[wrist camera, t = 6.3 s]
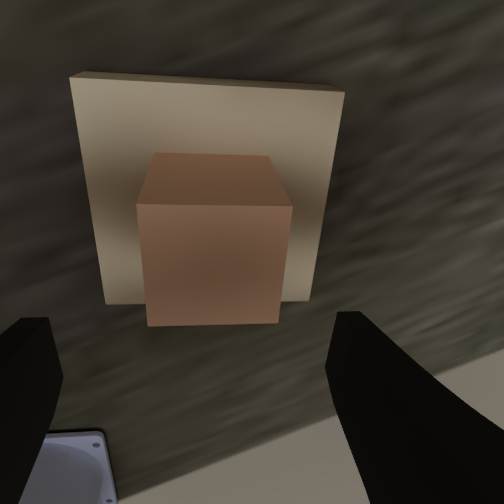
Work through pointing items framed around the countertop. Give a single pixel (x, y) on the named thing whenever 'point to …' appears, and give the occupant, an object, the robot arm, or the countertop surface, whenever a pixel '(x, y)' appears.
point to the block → (213, 239)
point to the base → (201, 142)
